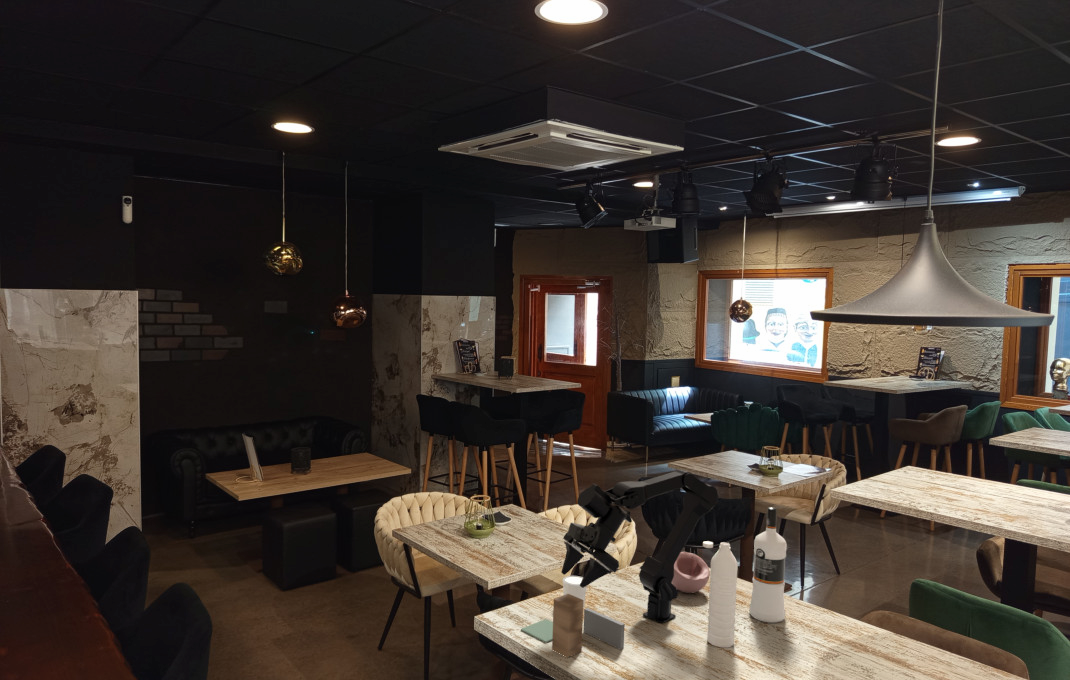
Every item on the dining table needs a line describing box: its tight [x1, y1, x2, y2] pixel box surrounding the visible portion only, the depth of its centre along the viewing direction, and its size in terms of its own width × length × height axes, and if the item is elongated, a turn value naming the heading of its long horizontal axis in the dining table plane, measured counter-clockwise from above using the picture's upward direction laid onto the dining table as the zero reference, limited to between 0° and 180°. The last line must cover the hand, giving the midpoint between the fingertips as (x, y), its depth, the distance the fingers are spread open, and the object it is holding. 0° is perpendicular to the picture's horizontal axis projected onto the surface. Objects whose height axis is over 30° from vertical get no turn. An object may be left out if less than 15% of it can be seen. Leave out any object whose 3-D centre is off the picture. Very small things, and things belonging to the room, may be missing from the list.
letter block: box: [551, 594, 584, 658], centre depth 169 cm, size 5×5×12 cm
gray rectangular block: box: [582, 607, 626, 650], centre depth 176 cm, size 1×12×6 cm, turn 44°
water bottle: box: [702, 540, 739, 648], centre depth 176 cm, size 9×6×25 cm
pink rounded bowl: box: [671, 551, 711, 594], centre depth 208 cm, size 12×12×12 cm
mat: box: [520, 618, 553, 643], centre depth 179 cm, size 9×9×1 cm
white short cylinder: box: [562, 575, 588, 608], centre depth 196 cm, size 7×7×7 cm
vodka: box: [748, 506, 788, 624], centre depth 192 cm, size 9×9×30 cm
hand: (571, 580), depth 177 cm, fingers open, 9 cm apart
